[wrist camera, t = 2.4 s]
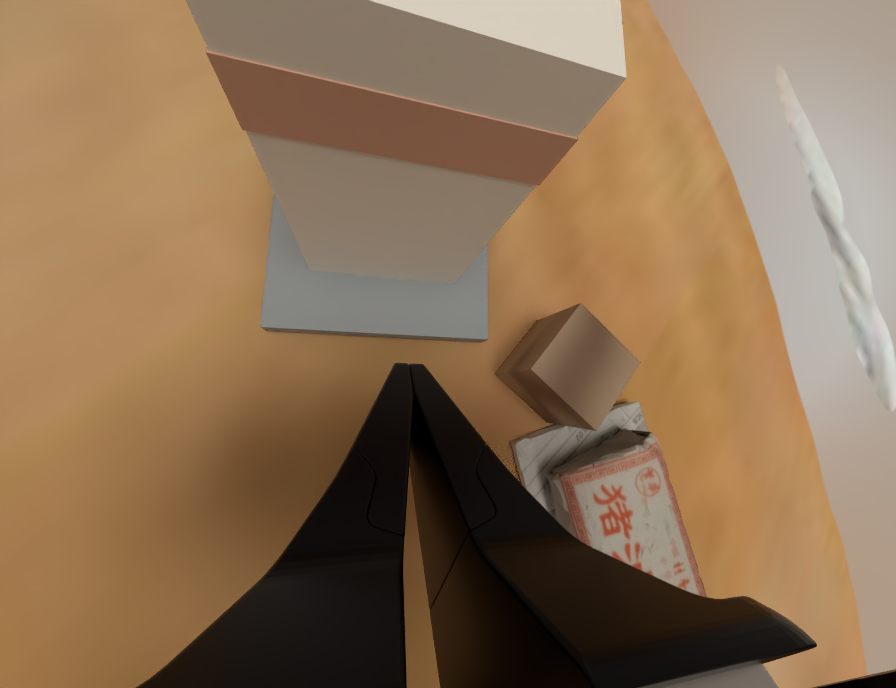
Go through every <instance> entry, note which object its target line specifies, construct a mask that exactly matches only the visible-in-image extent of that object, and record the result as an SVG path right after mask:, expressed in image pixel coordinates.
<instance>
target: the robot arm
mask: <svg viewBox="0 0 896 688" xmlns="http://www.w3.org/2000/svg"><path fill="white" fill-rule="evenodd" d="M485 445H486V442H485V441H484V440H483V439H482V437H481V436H480V435H479V434H478V432H477V431H476V430H475V429H474V427H473V426H472V425H471V424H470V422H469V421H468V420H467V419H466V417H465V416H464V415H463V413H462V412H461V411H460V410H459V408H458V407H457V406H456V405H455V403H454V402H453V401H452V400H451V398H450V397H449V396H448V395H447V393H446V392H445V391H444V390H443V388H442V387H441V386H440V385H439V383H438V382H437V381H436V380H435V378H434V377H433V376H432V375H431V373H430V372H429V371H428V370H427V368H426V367H425V366H424V365H423V364H410V365H409V364H407V363H395V364H394V366H393V367H392V369H391V371H390V373H389V375H388V377H387V379H386V381H385V383H384V385H383V387H382V389H381V391H380V393H379V395H378V397H377V399H376V401H375V402H374V404H373V406H372V408H371V410H370V412H369V414H368V416H367V418H366V420H365V422H364V424H363V426H362V428H361V430H360V432H359V434H358V436H357V437H356V439H355V441H354V443H353V446H352V447H351V449H350V451H349V453H348V455H347V456H346V458H345V460H344V462H343V464H342V466H341V467H340V469H339V471H338V473H337V474H336V476H335V478H334V479H333V481H332V482H331V484H330V486H329V487H328V489H327V490H326V492H325V493H324V495H323V496H322V498H321V499H320V501H319V502H318V503H317V505H316V506H315V508H314V509H313V511H312V512H311V513H310V515H309V516H308V518H307V519H306V521H305V522H304V523H303V525H302V526H301V528H300V529H299V531H298V532H297V533H296V535H295V536H294V538H293V539H292V541H291V542H290V543H289V545H288V546H287V548H286V549H285V550H284V552H283V553H282V554H281V556H280V557H279V558H278V560H277V561H276V562H275V563H274V565H273V566H272V567H271V568H270V569H269V571H268V572H267V573H266V574H265V575H264V576H263V577H262V578H261V579H260V580H259V581H258V582H257V583H256V584H255V585H254V586H253V587H252V588H251V589H250V590H249V591H247V592H246V593H245V594H244V595H243V596H242V597H241V598H240V599H239V600H238V601H236V602H235V603H234V604H233V605H232V606H231V607H230V608H229V609H228V610H227V611H225V612H224V613H223V614H222V615H221V616H220V617H219V618H218V619H217V620H216V621H214V622H213V623H212V624H211V625H210V626H209V627H208V628H207V629H206V630H205V631H203V632H202V633H201V634H200V635H199V636H198V637H197V638H196V639H195V640H194V641H192V642H191V643H190V644H189V645H188V646H187V647H186V648H185V649H184V650H183V651H182V652H180V653H179V654H178V655H177V656H176V657H175V658H174V659H173V660H172V661H171V662H169V663H168V664H167V665H166V666H165V667H164V668H162V669H161V670H160V671H159V672H157V673H156V674H155V675H154V676H152V677H151V678H150V679H149V680H147V681H145V682H144V683H142V684H141V685H139V686H138V687H136V688H407V685H406V652H405V619H404V587H403V553H404V536H405V521H406V505H407V490H408V475H409V465H410V472H411V479H412V487H413V494H414V501H415V508H416V515H417V522H418V530H419V537H420V544H421V551H422V558H423V566H424V573H425V580H426V587H427V594H428V601H429V608H430V610H431V611H430V617H431V624H432V631H433V638H434V645H435V652H436V659H437V667H438V674H439V681H440V688H778V686H777V685H776V683H775V682H774V680H773V679H772V677H771V676H770V674H769V673H768V671H767V670H766V668H765V667H764V665H763V663H766V662H770V661H773V660H776V659H780V658H783V657H786V656H790V655H793V654H796V653H800V652H803V651H806V650H809V649H812V648H814V647H816V646H817V644H816V642H815V641H814V640H812V639H811V638H810V637H809V636H808V635H807V634H806V633H805V632H804V631H803V630H802V629H800V628H799V627H798V626H797V625H795V624H794V623H793V622H791V621H790V620H789V619H787V618H786V617H784V616H782V615H781V614H779V613H778V612H776V611H774V610H772V609H771V608H769V607H767V606H765V605H763V604H761V603H759V602H757V601H756V600H754V599H752V598H750V597H747V596H740V597H732V598H726V599H713V598H708V597H703V596H700V595H697V594H694V593H691V592H688V591H686V590H683V589H681V588H679V587H676V586H674V585H672V584H670V583H668V582H666V581H663V580H661V579H659V578H657V577H655V576H653V575H650V574H648V573H646V572H644V571H642V570H640V569H638V568H635V567H633V566H631V565H629V564H627V563H625V562H622V561H620V560H618V559H616V558H614V557H612V556H610V555H607V554H605V553H603V552H601V551H599V550H597V549H594V548H592V547H590V546H588V545H587V544H585V543H583V542H582V541H580V540H579V539H577V538H576V537H575V536H573V535H572V534H571V533H570V532H568V531H567V530H566V529H565V528H564V527H563V526H562V525H561V524H560V523H559V522H558V521H557V520H556V519H555V518H554V517H553V516H552V515H551V514H550V513H549V512H548V511H547V510H546V509H545V508H544V507H543V506H542V505H541V504H540V503H539V502H538V501H537V500H536V499H535V498H534V497H533V496H532V494H531V493H530V492H529V491H528V490H527V489H526V488H525V487H524V486H523V485H522V484H521V483H520V482H519V481H518V480H517V479H516V478H515V477H514V476H513V474H512V473H511V472H510V471H509V470H508V469H507V468H506V467H505V465H504V464H503V463H502V462H501V461H500V460H499V458H498V457H497V456H496V455H495V454H494V452H493V451H492V450H491V448H490V447H489V446H488V445H486V446H485ZM813 688H896V669H895V670H890V671H886V672H881V673H877V674H872V675H867V676H863V677H858V678H854V679H849V680H844V681H840V682H835V683H831V684H826V685H822V686H817V687H813Z"/></svg>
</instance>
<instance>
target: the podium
mask: <svg viewBox="0 0 896 688" xmlns="http://www.w3.org/2000/svg"><path fill="white" fill-rule="evenodd" d="M261 328H263V329H265V330H266V331H278V332H297V333H316V334H335V335H354V336H373V337H392V338H411V339H430V340H449V341H468V342H483V341H486V340H488V261H487V245H486V246H485V247H484V249H483V250H482V251H481V252H480V253H479V255H478V256H477V257H476V258H475V259H474V261H473V262H472V263H471V264H470V265H469V267H468V268H467V269H466V270H465V271H464V273H463V274H462V275H461V276H460V277H459V279H458V280H457V281H456V282H455V283H454V284H445V283H435V282H425V281H414V280H404V279H394V278H384V277H373V276H363V275H353V274H342V273H332V272H322V271H311V270H309V268H308V266H307V264H306V261H305V259H304V257H303V255H302V253H301V250H300V248H299V246H298V244H297V242H296V240H295V237H294V235H293V233H292V231H291V229H290V226H289V224H288V222H287V220H286V218H285V215H284V213H283V211H282V209H281V207H280V205H279V202H278V200H277V198H276V196H275V194H274V197H273V207H272V217H271V227H270V237H269V247H268V257H267V267H266V277H265V287H264V297H263V307H262V317H261Z"/></svg>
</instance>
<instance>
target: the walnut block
mask: <svg viewBox="0 0 896 688" xmlns="http://www.w3.org/2000/svg"><path fill="white" fill-rule="evenodd" d="M640 363H641V362H640V361H639V360H638V359H637V358H636V357H635V356H634V355H633V354H632V353H631V352H630V351H629V350H628V349H627V348H626V347H625V346H624V345H623V344H622V343H621V342H620V341H619V340H618V339H617V338H616V337H615V336H614V335H613V334H612V333H611V332H610V331H609V330H608V329H607V328H606V327H605V326H604V325H603V324H602V323H601V322H600V321H599V320H598V319H596V318H595V317H594V316H593V315H592V314H591V313H590V312H589V311H588V310H587V309H586V308H585V307H584V306H583V305H582V304H581V303H580V304H577V305H575V306H573V307H570V308H568V309H565V310H563V311H560V312H558V313H555V314H553V315H550V316H548V317H545V318H543V319H540V320H538V321H536V322H535V323H534V325H533V326H532V327H531V328H530V330H529V331H528V332H527V334H526V335H525V336H524V337H523V339H522V340H521V341H520V342H519V344H518V345H517V346H516V347H515V349H514V350H513V351H512V352H511V354H510V355H509V356H508V357H507V359H506V360H505V361H504V362H503V364H502V365H501V366H500V367H499V369H498V370H497V371H496V373H495V375H496V376H498V377H499V378H500V379H501V380H502V381H503V382H504V383H505V384H506V385H507V386H508V387H509V388H510V389H512V390H513V391H514V392H515V393H516V394H517V395H518V396H519V397H520V398H521V399H522V400H523V401H524V402H526V403H527V404H528V405H529V406H530V407H531V408H532V409H533V410H534V411H535V412H536V413H537V414H538V415H540V416H541V417H542V418H543V419H544V420H545V421H546V422H547V423H553V424H559V425H564V426H570V427H576V428H581V429H587V430H593V431H597V430H598V429H599V427H600V425H601V424H602V422H603V421H604V419H605V418H606V416H607V414H608V413H609V411H610V410H611V408H612V407H613V405H614V404H615V402H616V400H617V399H618V397H619V396H620V394H621V393H622V391H623V389H624V388H625V386H626V385H627V383H628V382H629V380H630V379H631V377H632V375H633V374H634V372H635V371H636V369H637V368H638V366H639V364H640Z"/></svg>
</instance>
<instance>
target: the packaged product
mask: <svg viewBox="0 0 896 688" xmlns="http://www.w3.org/2000/svg"><path fill="white" fill-rule="evenodd" d="M511 444H512V448H513V453H514V457H515V461H516V465H517V469H518V473H519V476H520V480H521V483H522V485H523V486H524V487H525V488H526V489H527V490H528V491H529V492H530V493H531V494H532V496H533V497H534V498H535V499H536V500H537V501H538V502H539V503H540V504H541V505H542V506H543V507H544V508H545V509H546V510H547V511H548V512H549V513H550V514H551V515H552V516H553V517H554V518H555V519H556V520H557V521H558V522H559V523H560V524H561V525H562V526H563V527H564V528H565V529H566V530H567V531H568V532H570V533H571V534H572V535H573V536H575V537H576V538H577V539H579V540H580V541H582V542H583V543H585V544H587V545H588V546H590V547H592V548H594V549H597V550H599V551H601V552H603V553H605V554H607V555H610V556H612V557H614V558H616V559H618V560H620V561H622V562H625V563H627V564H629V565H631V566H633V567H635V568H638V569H640V570H642V571H644V572H646V573H648V574H650V575H653V576H655V577H657V578H659V579H661V580H663V581H666V582H668V583H670V584H672V585H674V586H676V587H679V588H681V589H683V590H686V591H688V592H691V593H694V594H697V595H700V596H703V597H706V593H705V590H704V586H703V583H702V580H701V578H700V575H699V571H698V567H697V563H696V560H695V557H694V554H693V552H692V549H691V545H690V541H689V538H688V535H687V532H686V529H685V527H684V524H683V521H682V518H681V513H680V509H679V506H678V503H677V500H676V497H675V493H674V490H673V487H672V485H671V482H670V480H669V474H668V470H667V466H666V462H665V460H664V457H663V452H662V450H661V448H660V446H659V442H658V440H657V439H656V438H655V437H654V436H653V434H652V433H651V432H648V430H647V426H646V424H645V421H644V418H643V415H642V410H641V406H640V403H639V402H638V401H637V402H630V403H624V404H619V405H614V406H613V407H612V408H611V410H610V411H609V413H608V414H607V416H606V418H605V419H604V421H603V422H602V424H601V425H600V427H599V429H598V430H597V431H593V430H587V429H581V428H576V427H570V426H564V425H559V424H557V425H554V426H551V427H547V428H544V429H541V430H538V431H536V432H533V433H531V434H528V435H526V436H524V437H522V438H520V439H518V440H516V441H514V442H511Z"/></svg>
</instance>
